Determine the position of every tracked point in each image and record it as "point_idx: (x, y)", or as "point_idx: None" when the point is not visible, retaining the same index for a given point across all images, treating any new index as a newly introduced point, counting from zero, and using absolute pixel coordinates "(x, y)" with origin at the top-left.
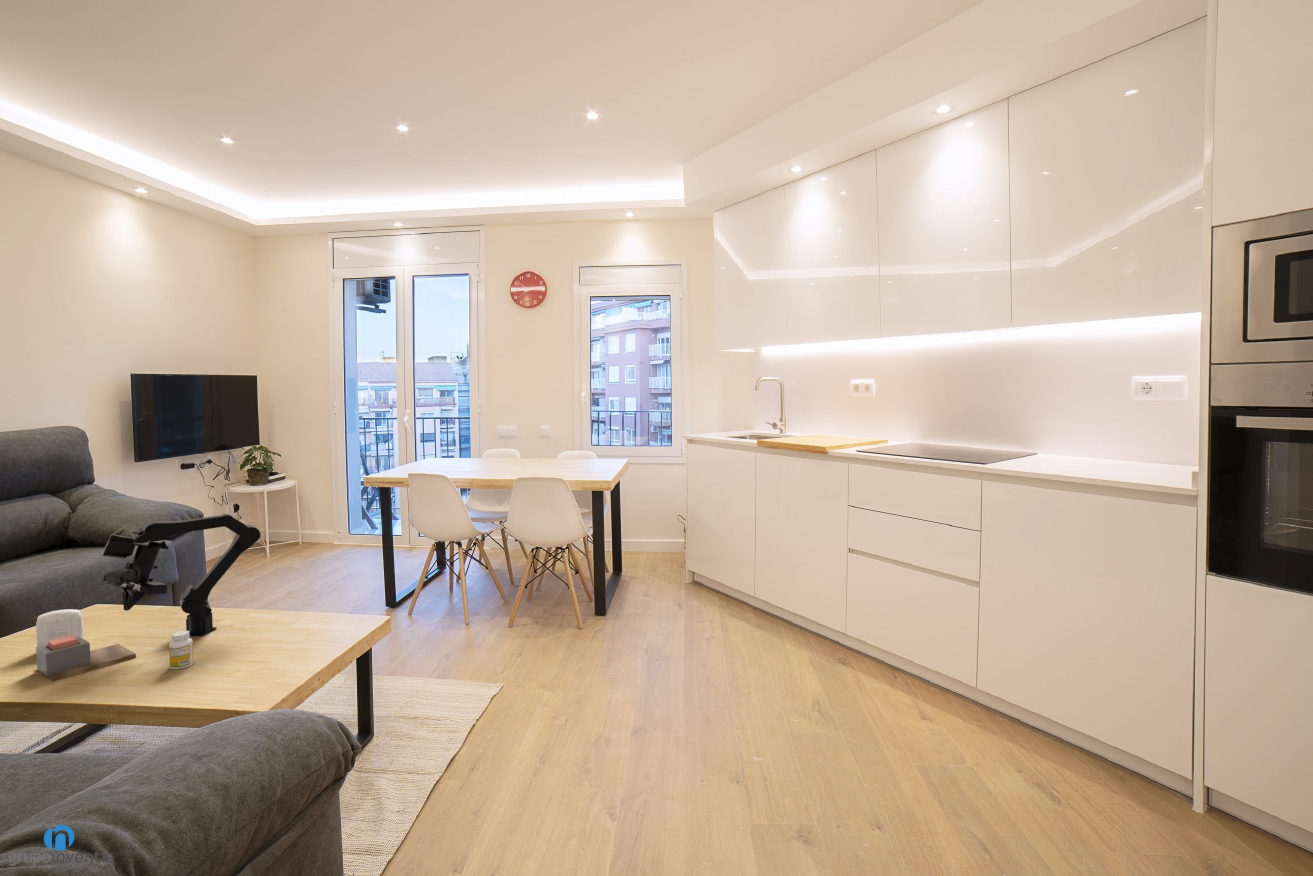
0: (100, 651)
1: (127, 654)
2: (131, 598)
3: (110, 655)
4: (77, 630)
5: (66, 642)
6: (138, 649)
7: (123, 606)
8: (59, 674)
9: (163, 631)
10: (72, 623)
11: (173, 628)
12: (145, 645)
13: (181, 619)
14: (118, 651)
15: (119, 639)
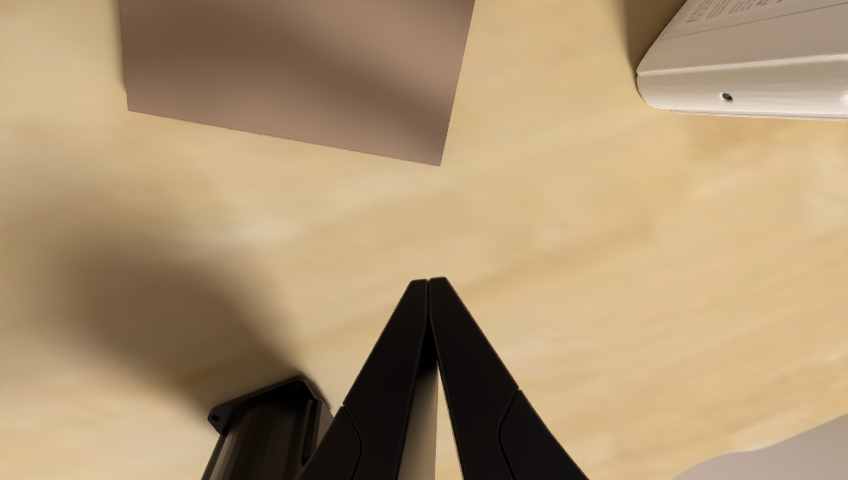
0: (398, 43)
1: (158, 77)
2: (299, 474)
3: (248, 20)
4: (734, 54)
5: None
6: (298, 191)
7: (458, 300)
8: None
9: None
10: (831, 14)
11: None
12: (333, 237)
13: None
14: (288, 89)
15: (553, 226)
